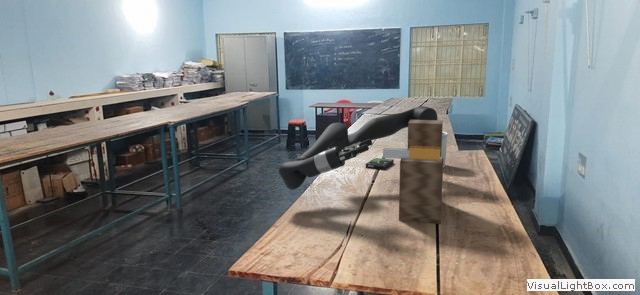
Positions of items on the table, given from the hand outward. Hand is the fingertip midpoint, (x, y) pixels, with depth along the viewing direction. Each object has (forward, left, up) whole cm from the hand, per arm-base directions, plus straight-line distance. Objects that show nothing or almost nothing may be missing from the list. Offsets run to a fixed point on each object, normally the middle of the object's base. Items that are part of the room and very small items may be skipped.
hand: (370, 144), depth 147 cm
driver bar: (-10, +9, -4) cm, 14 cm away
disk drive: (-41, -55, -27) cm, 74 cm away
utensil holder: (-63, -41, -26) cm, 80 cm away
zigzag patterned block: (-18, +7, -26) cm, 32 cm away
